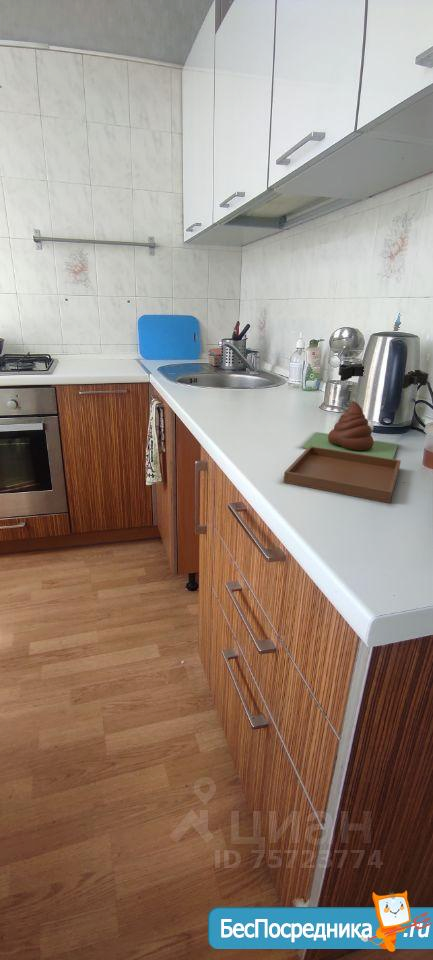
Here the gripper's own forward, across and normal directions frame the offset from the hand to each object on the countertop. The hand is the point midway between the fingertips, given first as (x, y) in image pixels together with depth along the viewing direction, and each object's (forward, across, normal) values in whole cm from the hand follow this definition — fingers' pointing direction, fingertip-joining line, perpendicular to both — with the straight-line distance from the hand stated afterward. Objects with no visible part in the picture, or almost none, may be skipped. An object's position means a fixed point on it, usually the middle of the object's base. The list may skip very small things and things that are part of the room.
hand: (372, 378), depth 103 cm
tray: (+28, -4, -14) cm, 32 cm away
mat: (+10, 0, -14) cm, 17 cm away
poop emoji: (+10, 0, -13) cm, 16 cm away
